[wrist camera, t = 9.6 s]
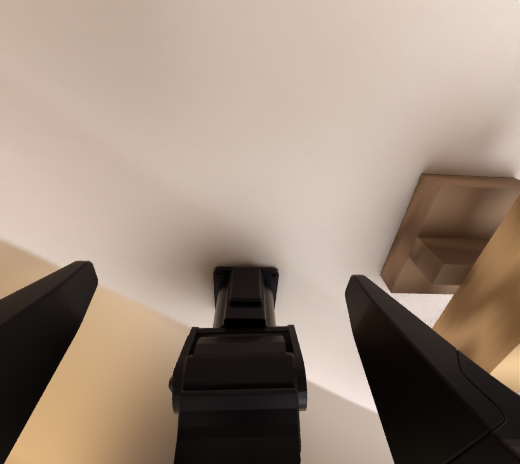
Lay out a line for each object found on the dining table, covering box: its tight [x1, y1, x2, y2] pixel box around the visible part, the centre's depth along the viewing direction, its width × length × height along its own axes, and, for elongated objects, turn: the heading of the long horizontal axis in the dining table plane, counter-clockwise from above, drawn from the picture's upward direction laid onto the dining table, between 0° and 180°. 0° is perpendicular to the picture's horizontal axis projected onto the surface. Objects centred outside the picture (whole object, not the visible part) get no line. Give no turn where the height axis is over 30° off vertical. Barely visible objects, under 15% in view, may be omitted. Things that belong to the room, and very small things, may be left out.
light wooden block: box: [432, 195, 520, 393], centre depth 17 cm, size 16×4×5 cm, turn 177°
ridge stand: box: [380, 174, 520, 294], centre depth 22 cm, size 11×8×6 cm
